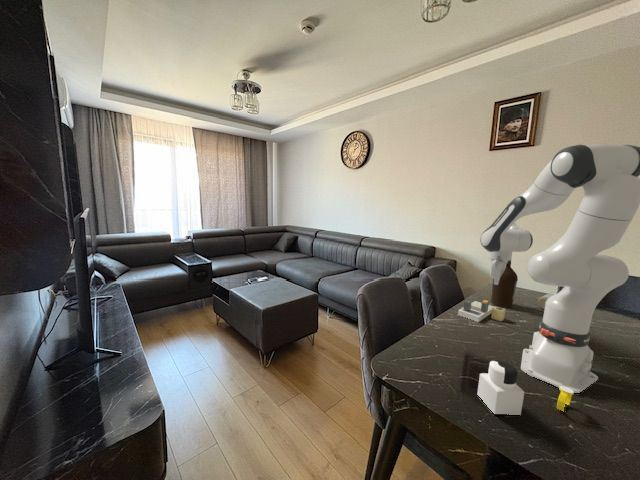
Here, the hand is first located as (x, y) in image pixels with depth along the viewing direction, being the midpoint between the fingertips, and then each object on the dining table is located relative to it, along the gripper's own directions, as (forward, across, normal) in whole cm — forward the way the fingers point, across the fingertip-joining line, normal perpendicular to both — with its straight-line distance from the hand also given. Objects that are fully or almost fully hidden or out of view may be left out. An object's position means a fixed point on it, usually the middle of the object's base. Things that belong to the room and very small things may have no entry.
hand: (496, 284), depth 118 cm
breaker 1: (+14, -5, +10) cm, 18 cm away
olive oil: (+17, +24, -1) cm, 29 cm away
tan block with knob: (+17, +1, -2) cm, 17 cm away
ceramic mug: (+17, +34, -22) cm, 43 cm away
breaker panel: (+17, +1, +7) cm, 18 cm away
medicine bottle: (+18, -62, -9) cm, 65 cm away
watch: (+18, -51, -22) cm, 59 cm away
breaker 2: (+14, -1, +3) cm, 15 cm away
